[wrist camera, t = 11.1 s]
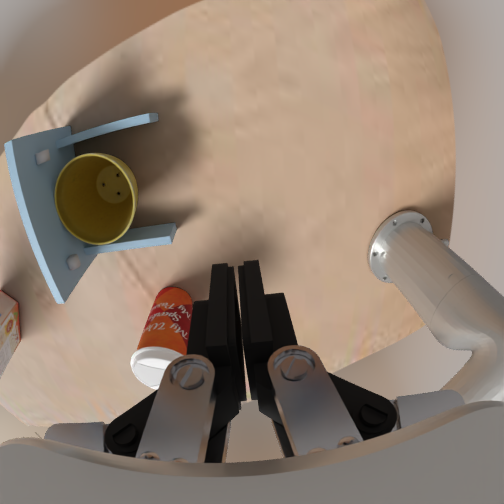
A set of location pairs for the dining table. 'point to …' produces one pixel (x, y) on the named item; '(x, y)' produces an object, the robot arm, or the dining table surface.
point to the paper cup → (163, 336)
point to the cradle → (44, 210)
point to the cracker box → (8, 329)
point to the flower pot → (96, 198)
